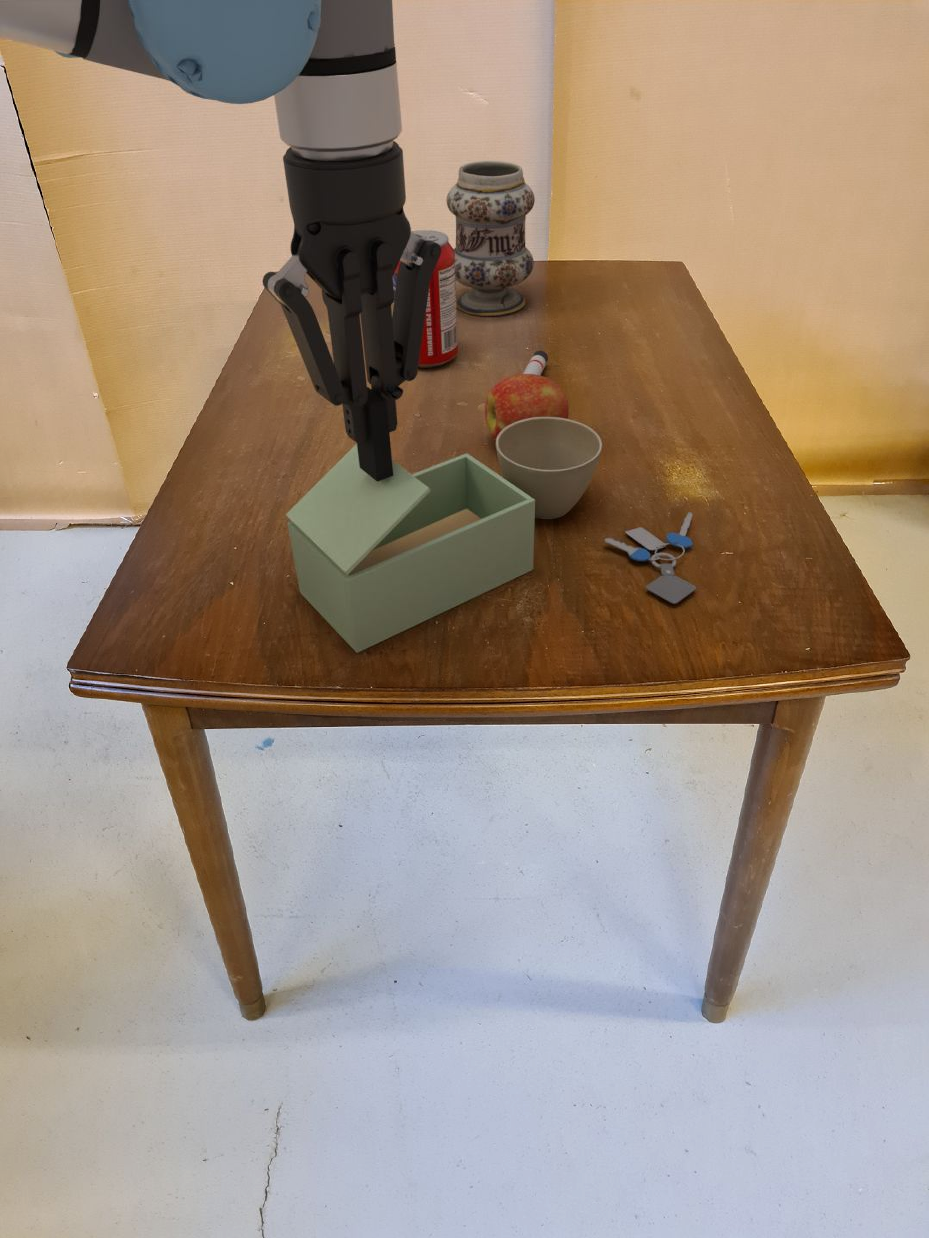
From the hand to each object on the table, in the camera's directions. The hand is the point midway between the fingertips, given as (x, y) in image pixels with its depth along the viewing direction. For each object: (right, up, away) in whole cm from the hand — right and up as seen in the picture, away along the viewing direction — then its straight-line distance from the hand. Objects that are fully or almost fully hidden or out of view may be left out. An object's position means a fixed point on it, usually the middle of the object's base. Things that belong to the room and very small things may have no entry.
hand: (376, 471), depth 72 cm
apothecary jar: (+11, +33, +59) cm, 68 cm away
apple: (+14, +7, +28) cm, 32 cm away
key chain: (+24, -6, +11) cm, 27 cm away
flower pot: (+15, -1, +18) cm, 24 cm away
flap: (-2, -3, +1) cm, 3 cm away
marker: (+14, +15, +37) cm, 43 cm away
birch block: (+3, -8, +9) cm, 12 cm away
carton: (+3, -8, +9) cm, 13 cm away
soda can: (+2, +22, +45) cm, 50 cm away
